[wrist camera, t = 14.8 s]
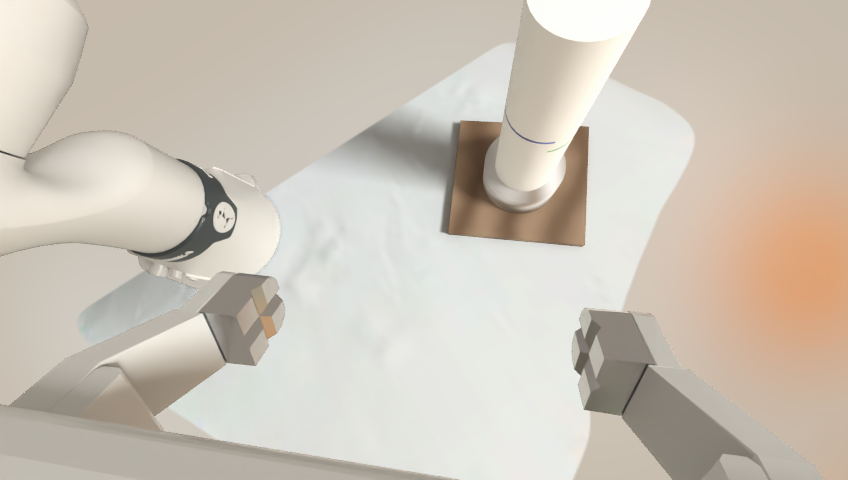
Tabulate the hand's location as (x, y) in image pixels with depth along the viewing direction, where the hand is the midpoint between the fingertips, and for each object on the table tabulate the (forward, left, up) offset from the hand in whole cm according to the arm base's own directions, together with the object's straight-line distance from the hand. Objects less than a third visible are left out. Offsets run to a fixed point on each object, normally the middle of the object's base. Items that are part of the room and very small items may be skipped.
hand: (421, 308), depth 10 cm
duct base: (+7, +20, -40) cm, 45 cm away
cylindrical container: (+6, +20, -34) cm, 40 cm away
